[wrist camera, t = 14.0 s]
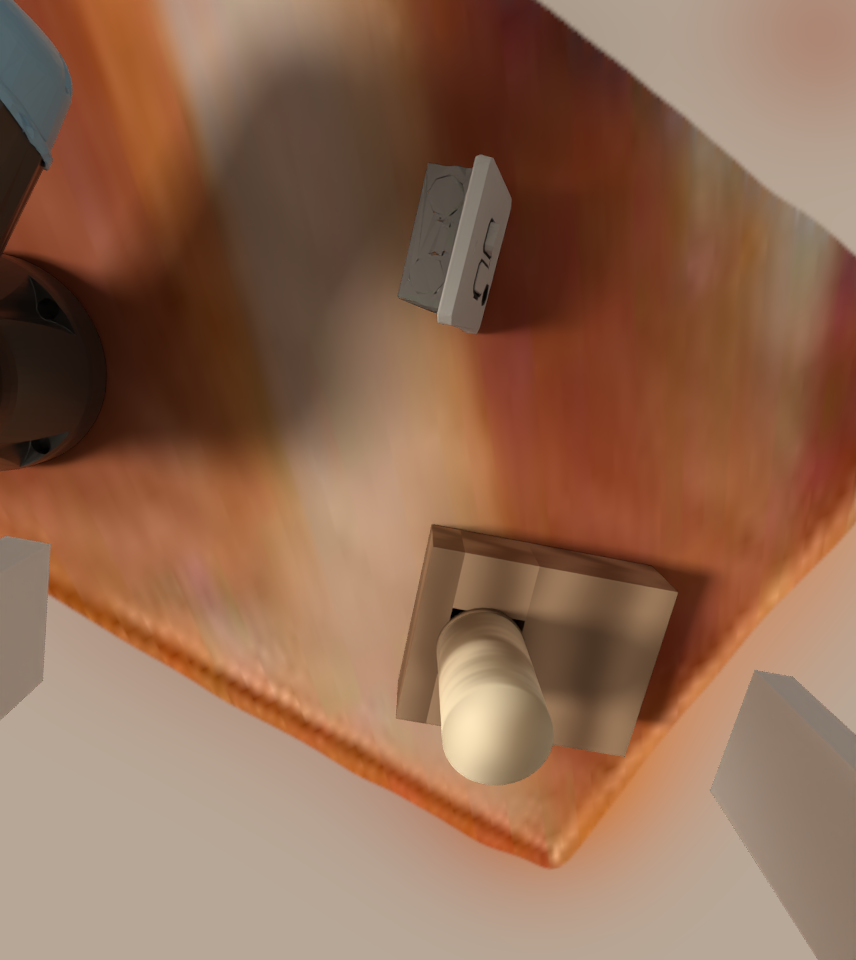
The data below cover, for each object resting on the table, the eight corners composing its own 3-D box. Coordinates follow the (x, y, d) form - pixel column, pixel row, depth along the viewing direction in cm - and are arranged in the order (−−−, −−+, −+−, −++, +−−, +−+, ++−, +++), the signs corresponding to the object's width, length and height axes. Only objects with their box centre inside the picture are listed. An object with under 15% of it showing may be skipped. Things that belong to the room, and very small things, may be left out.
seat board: (398, 681, 50) (395, 718, 45) (431, 524, 47) (433, 546, 42) (605, 716, 51) (624, 756, 46) (651, 566, 48) (678, 592, 43)
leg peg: (427, 648, 49) (430, 776, 35) (443, 575, 47) (454, 678, 33) (504, 662, 49) (539, 793, 35) (523, 590, 48) (567, 697, 34)
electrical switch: (477, 336, 44) (478, 332, 34) (408, 318, 44) (391, 310, 35) (513, 201, 41) (523, 159, 32) (440, 183, 42) (431, 136, 32)
